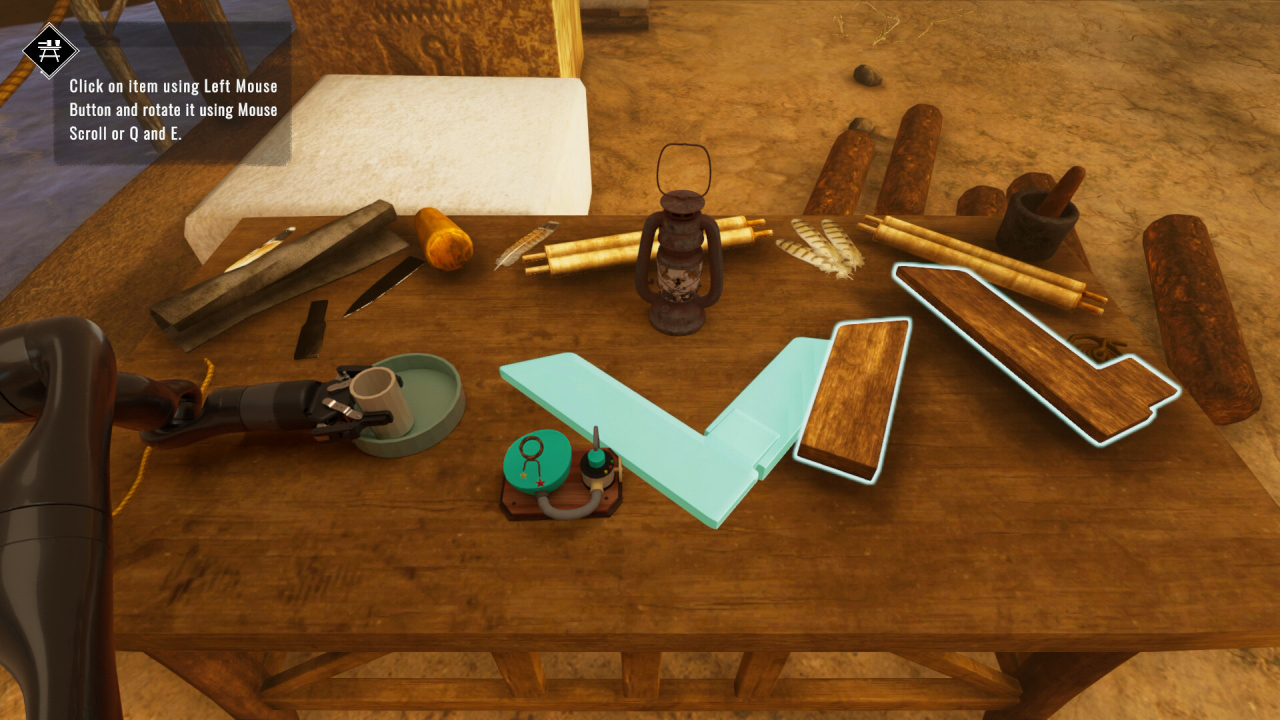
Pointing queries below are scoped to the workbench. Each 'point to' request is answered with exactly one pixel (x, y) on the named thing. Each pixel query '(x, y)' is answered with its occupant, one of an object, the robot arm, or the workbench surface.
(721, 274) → the lantern
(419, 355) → the bowl
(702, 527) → the workbench surface
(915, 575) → the workbench surface
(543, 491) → the contraption on wooden base
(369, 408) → the cup
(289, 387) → the robot arm
